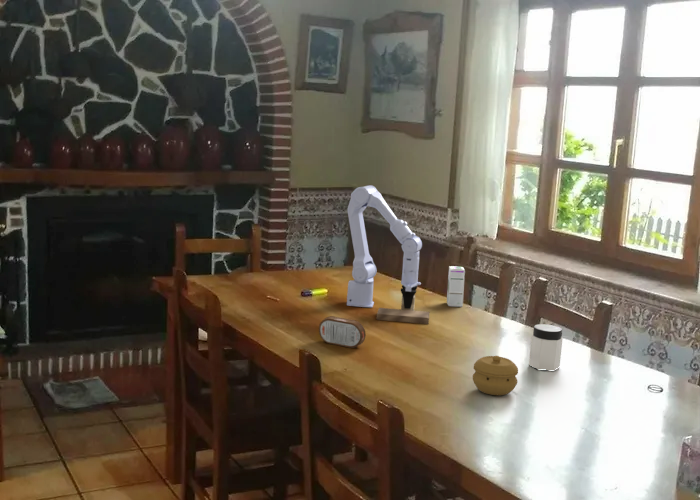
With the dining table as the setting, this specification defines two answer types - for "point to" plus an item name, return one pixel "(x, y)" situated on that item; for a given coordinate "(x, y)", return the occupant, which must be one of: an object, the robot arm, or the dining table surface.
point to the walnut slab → (403, 315)
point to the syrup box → (455, 286)
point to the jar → (546, 347)
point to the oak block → (411, 305)
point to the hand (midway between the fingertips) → (407, 306)
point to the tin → (342, 332)
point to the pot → (495, 375)
